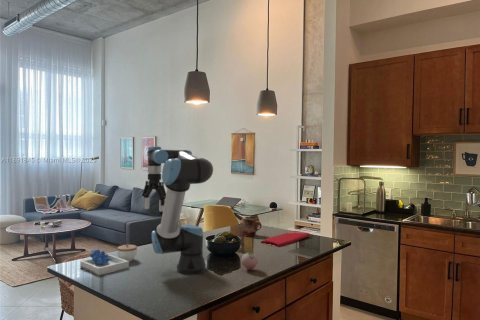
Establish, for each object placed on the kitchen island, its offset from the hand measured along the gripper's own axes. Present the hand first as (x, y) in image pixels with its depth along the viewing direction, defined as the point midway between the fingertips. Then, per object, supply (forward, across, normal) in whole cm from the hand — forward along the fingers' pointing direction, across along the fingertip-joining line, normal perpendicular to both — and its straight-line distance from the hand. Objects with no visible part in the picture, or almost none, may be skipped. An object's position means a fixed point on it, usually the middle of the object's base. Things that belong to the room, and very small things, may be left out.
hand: (154, 210), depth 206 cm
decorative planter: (+29, -2, -88) cm, 93 cm away
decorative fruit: (+29, -53, -22) cm, 64 cm away
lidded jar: (+29, +10, +11) cm, 32 cm away
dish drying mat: (+29, -30, -94) cm, 103 cm away
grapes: (+27, +7, +26) cm, 39 cm away
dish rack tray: (+29, +7, +26) cm, 40 cm away
